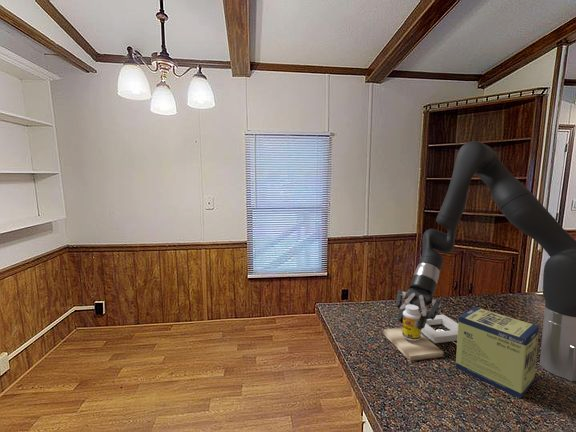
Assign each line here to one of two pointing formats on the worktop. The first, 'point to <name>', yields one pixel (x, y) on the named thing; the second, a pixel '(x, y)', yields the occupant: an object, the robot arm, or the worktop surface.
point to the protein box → (497, 350)
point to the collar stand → (442, 335)
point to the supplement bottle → (411, 323)
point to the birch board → (413, 345)
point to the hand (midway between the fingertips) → (409, 325)
